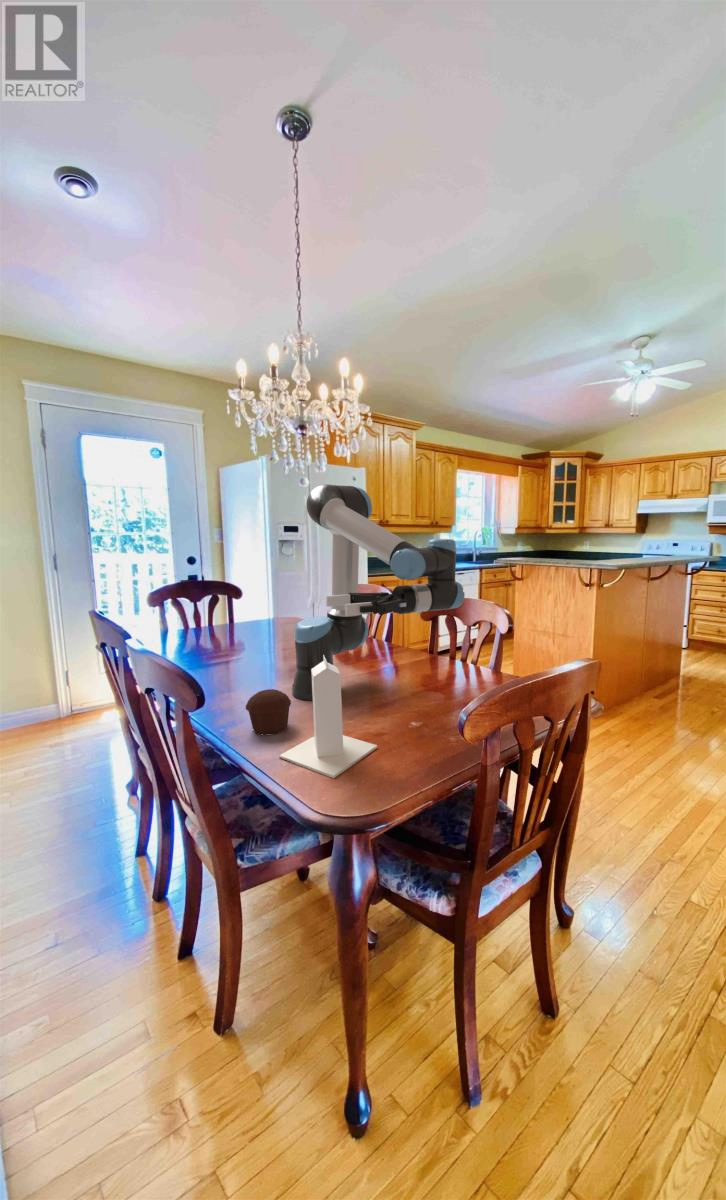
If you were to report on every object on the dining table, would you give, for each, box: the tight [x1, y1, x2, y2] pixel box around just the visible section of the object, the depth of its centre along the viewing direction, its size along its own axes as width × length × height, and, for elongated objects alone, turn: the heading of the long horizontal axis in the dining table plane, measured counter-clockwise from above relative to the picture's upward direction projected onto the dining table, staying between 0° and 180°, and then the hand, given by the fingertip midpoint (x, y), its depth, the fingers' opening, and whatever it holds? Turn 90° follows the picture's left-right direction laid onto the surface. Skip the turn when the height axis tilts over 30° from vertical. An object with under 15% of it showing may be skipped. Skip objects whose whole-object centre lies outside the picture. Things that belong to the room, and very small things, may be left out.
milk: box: [311, 655, 344, 758], centre depth 104 cm, size 6×6×22 cm
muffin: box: [245, 688, 292, 736], centre depth 120 cm, size 12×11×10 cm
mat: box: [278, 734, 378, 779], centre depth 106 cm, size 16×16×1 cm
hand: (335, 605), depth 114 cm, fingers open, 13 cm apart
